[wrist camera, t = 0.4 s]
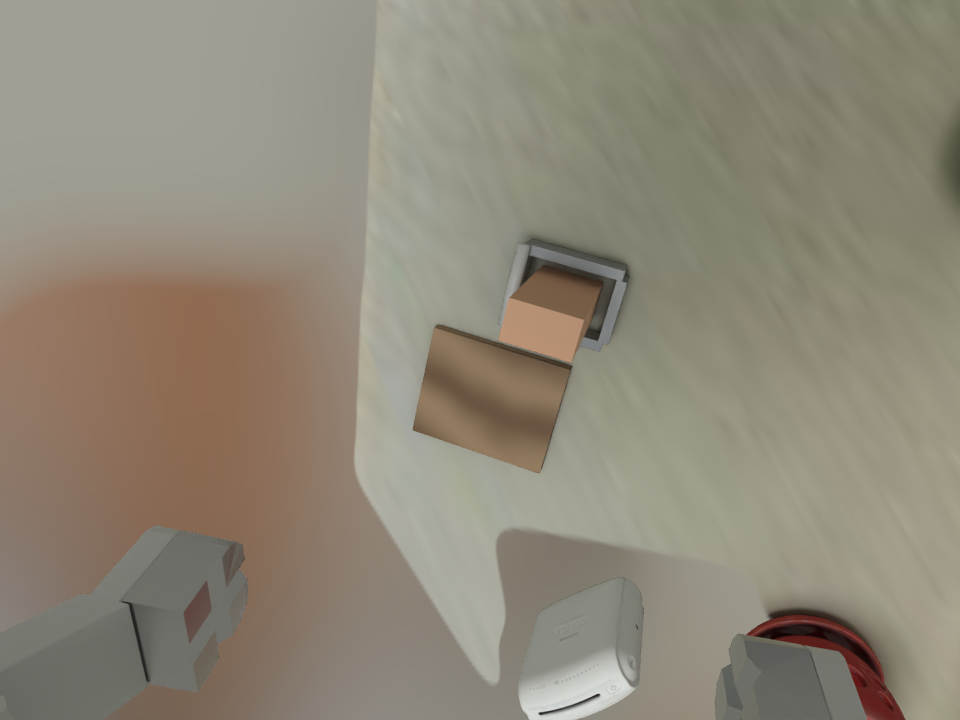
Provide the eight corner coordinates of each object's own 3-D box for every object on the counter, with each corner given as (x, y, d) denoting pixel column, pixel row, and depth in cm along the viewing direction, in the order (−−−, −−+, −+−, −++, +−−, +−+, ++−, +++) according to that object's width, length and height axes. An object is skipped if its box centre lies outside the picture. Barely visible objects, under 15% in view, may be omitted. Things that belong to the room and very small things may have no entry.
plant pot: (791, 570, 57) (818, 673, 46) (919, 668, 57) (976, 796, 46) (686, 657, 62) (688, 769, 51) (802, 748, 62) (829, 880, 51)
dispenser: (526, 237, 55) (516, 243, 51) (632, 267, 53) (629, 275, 50) (506, 314, 57) (496, 324, 54) (608, 344, 56) (603, 357, 52)
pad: (438, 324, 59) (434, 327, 58) (571, 366, 57) (570, 370, 56) (416, 425, 63) (412, 430, 62) (541, 468, 61) (539, 473, 60)
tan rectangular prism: (543, 265, 55) (509, 297, 44) (603, 282, 54) (584, 320, 43) (533, 300, 56) (498, 340, 45) (592, 317, 55) (571, 363, 44)
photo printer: (627, 567, 61) (615, 665, 50) (652, 605, 62) (646, 710, 50) (533, 606, 65) (502, 705, 54) (557, 641, 66) (532, 747, 54)
